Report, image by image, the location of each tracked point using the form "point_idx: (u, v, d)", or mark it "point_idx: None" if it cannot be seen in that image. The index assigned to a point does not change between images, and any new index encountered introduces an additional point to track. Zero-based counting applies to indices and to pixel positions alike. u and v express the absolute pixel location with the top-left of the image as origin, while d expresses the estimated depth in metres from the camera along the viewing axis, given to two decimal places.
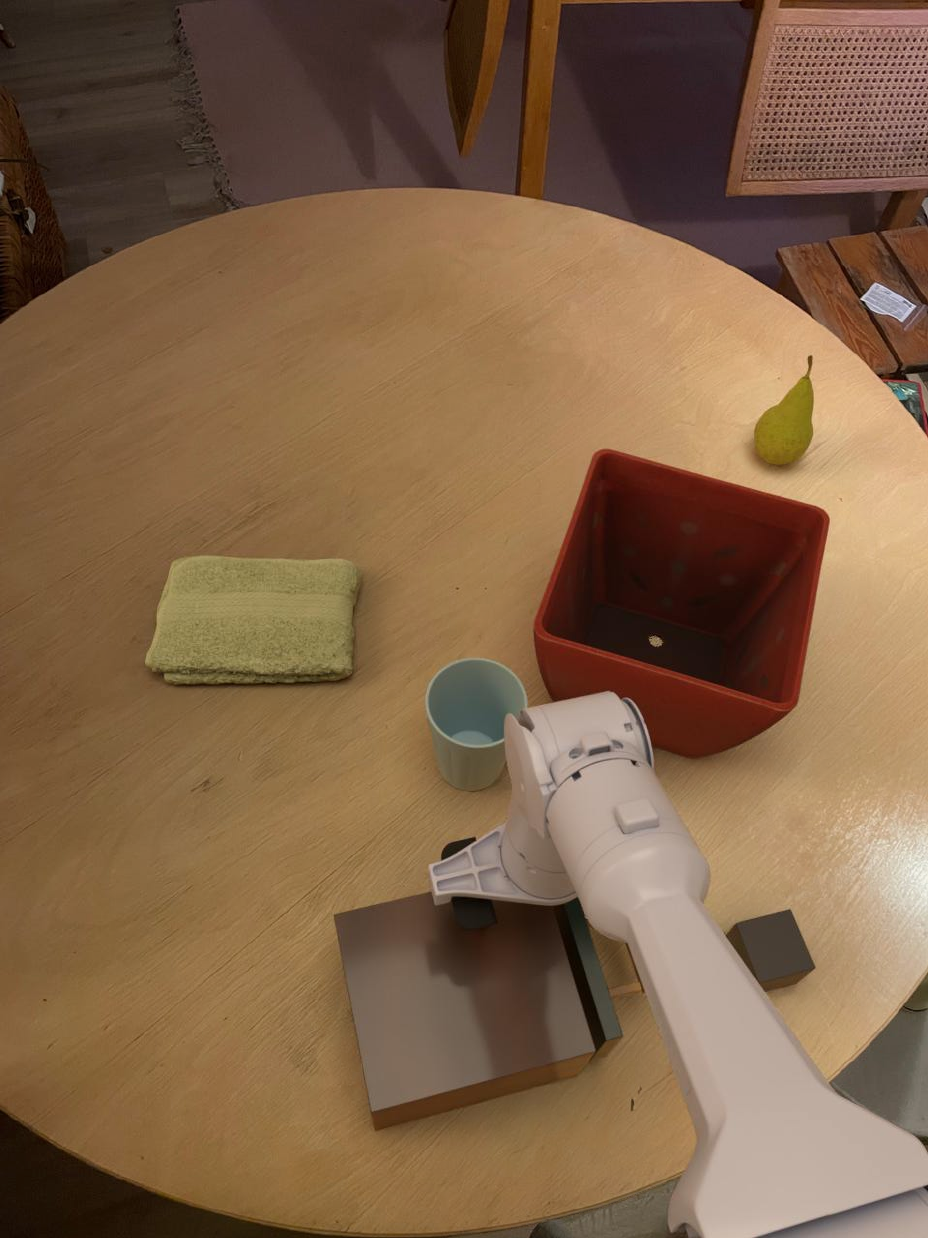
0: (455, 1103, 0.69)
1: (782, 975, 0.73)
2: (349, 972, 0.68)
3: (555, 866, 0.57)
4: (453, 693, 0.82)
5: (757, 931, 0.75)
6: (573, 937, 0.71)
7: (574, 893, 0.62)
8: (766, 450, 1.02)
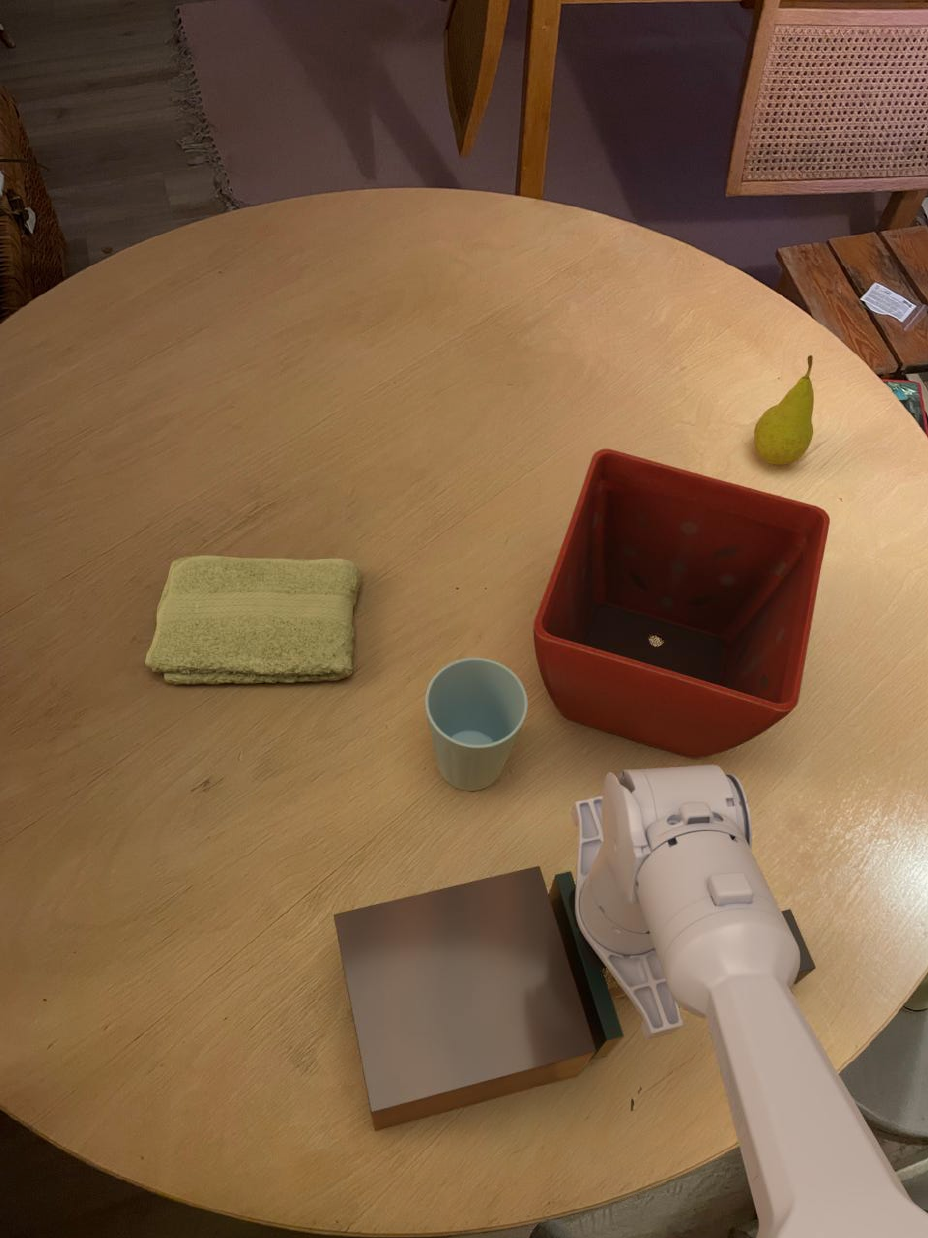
0: (455, 1103, 0.69)
1: None
2: (349, 972, 0.68)
3: (634, 926, 0.57)
4: (453, 693, 0.82)
5: None
6: (574, 937, 0.71)
7: (587, 931, 0.62)
8: (766, 450, 1.02)
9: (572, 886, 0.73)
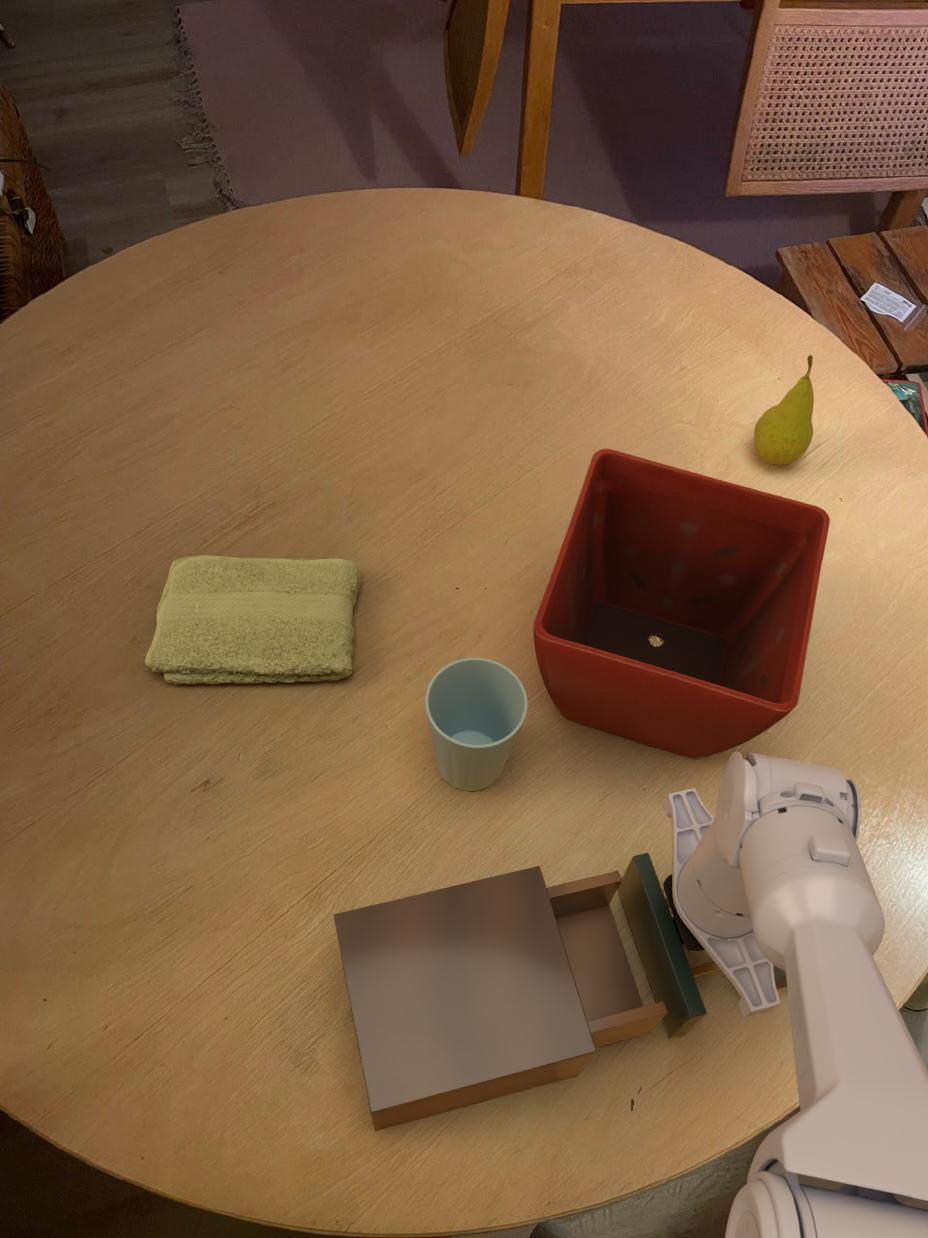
0: (455, 1103, 0.69)
1: (782, 975, 0.73)
2: (349, 972, 0.68)
3: (726, 905, 0.61)
4: (453, 693, 0.82)
5: None
6: (654, 917, 0.72)
7: (685, 916, 0.66)
8: (766, 450, 1.02)
9: (650, 867, 0.74)
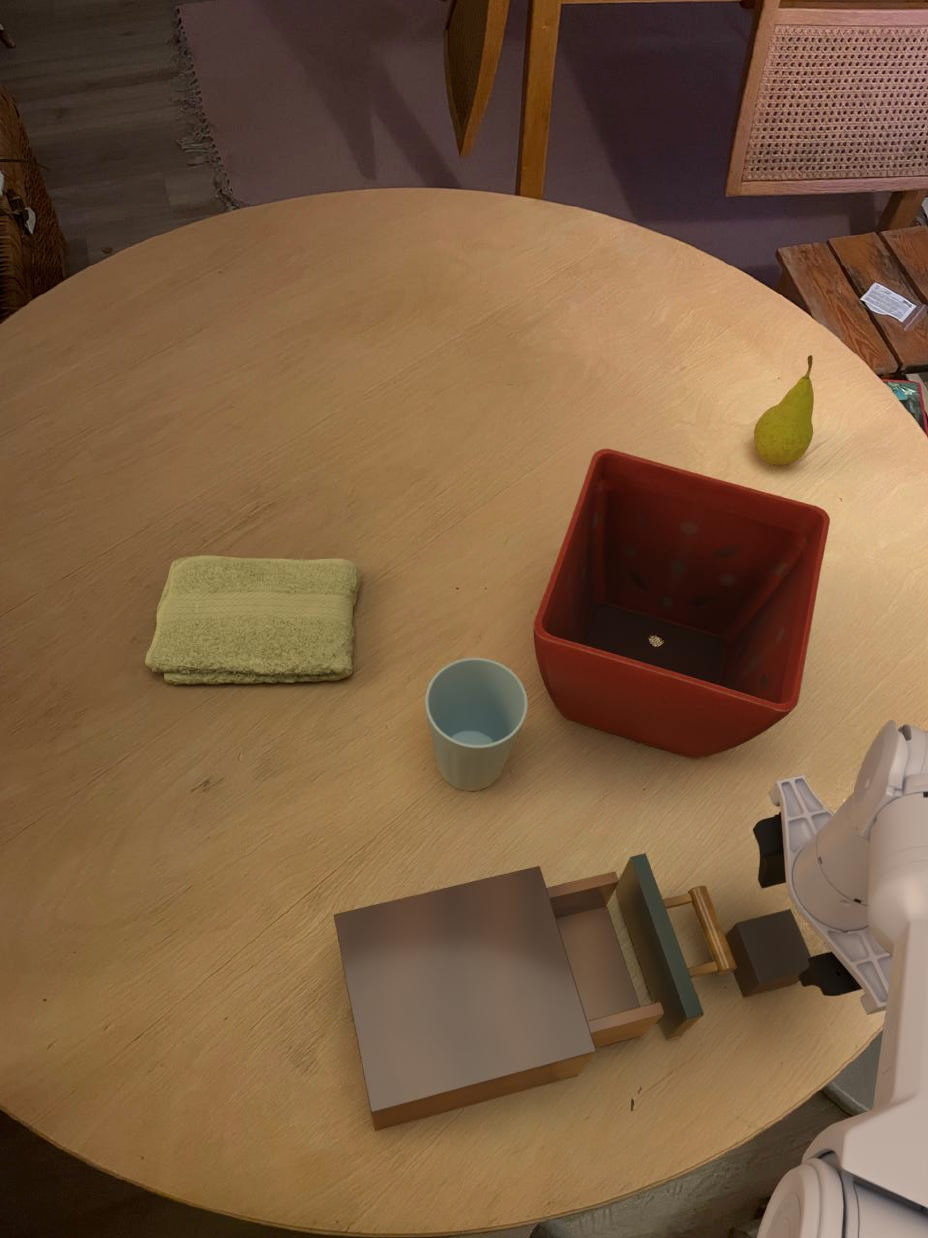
0: (455, 1103, 0.69)
1: (782, 975, 0.73)
2: (349, 972, 0.68)
3: (845, 886, 0.58)
4: (453, 693, 0.82)
5: (757, 931, 0.75)
6: (651, 918, 0.72)
7: (803, 907, 0.62)
8: (766, 450, 1.02)
9: (647, 868, 0.74)
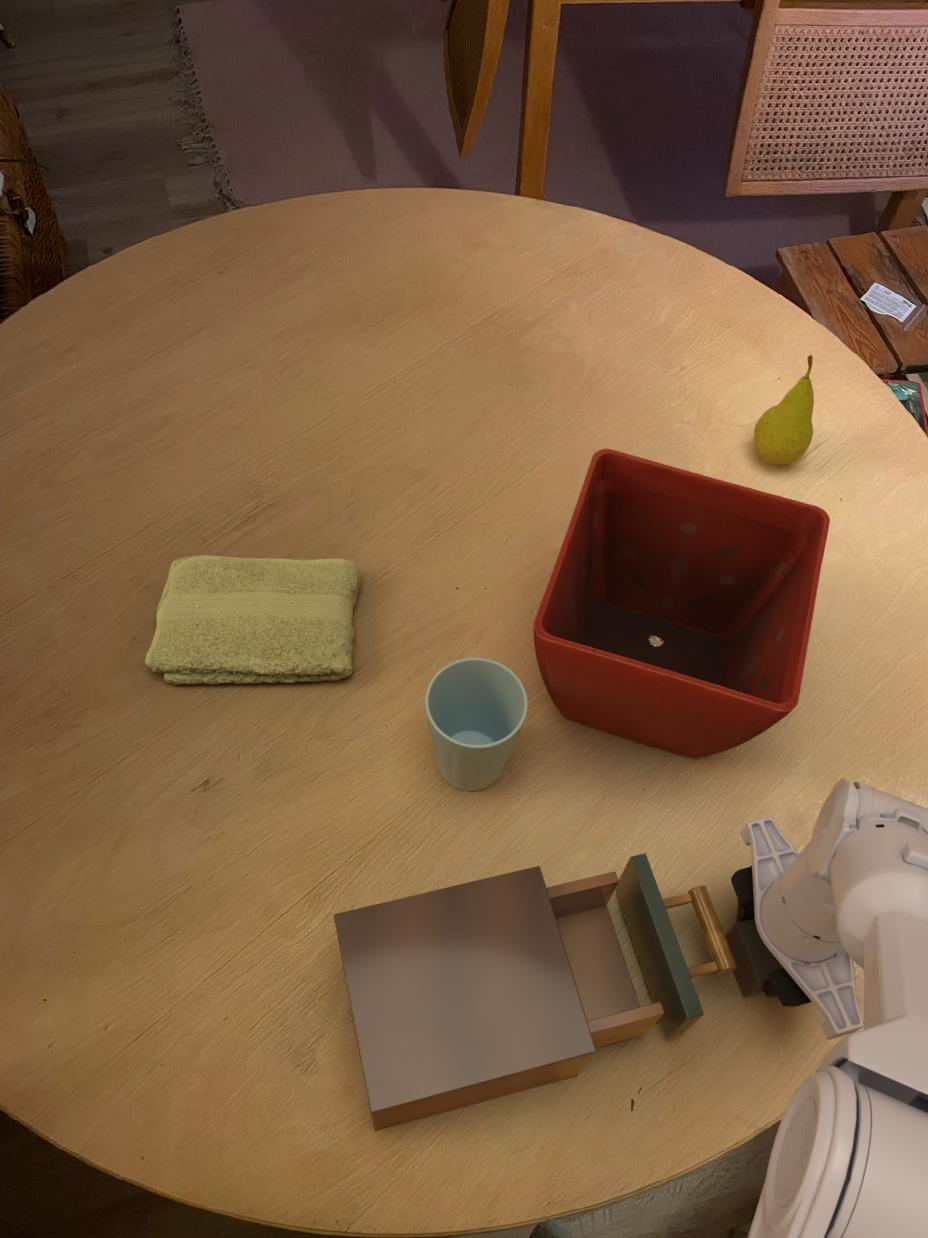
0: (455, 1103, 0.69)
1: None
2: (349, 972, 0.68)
3: (805, 925, 0.64)
4: (453, 693, 0.82)
5: (756, 931, 0.75)
6: (651, 918, 0.72)
7: (769, 941, 0.68)
8: (766, 450, 1.02)
9: (647, 868, 0.74)
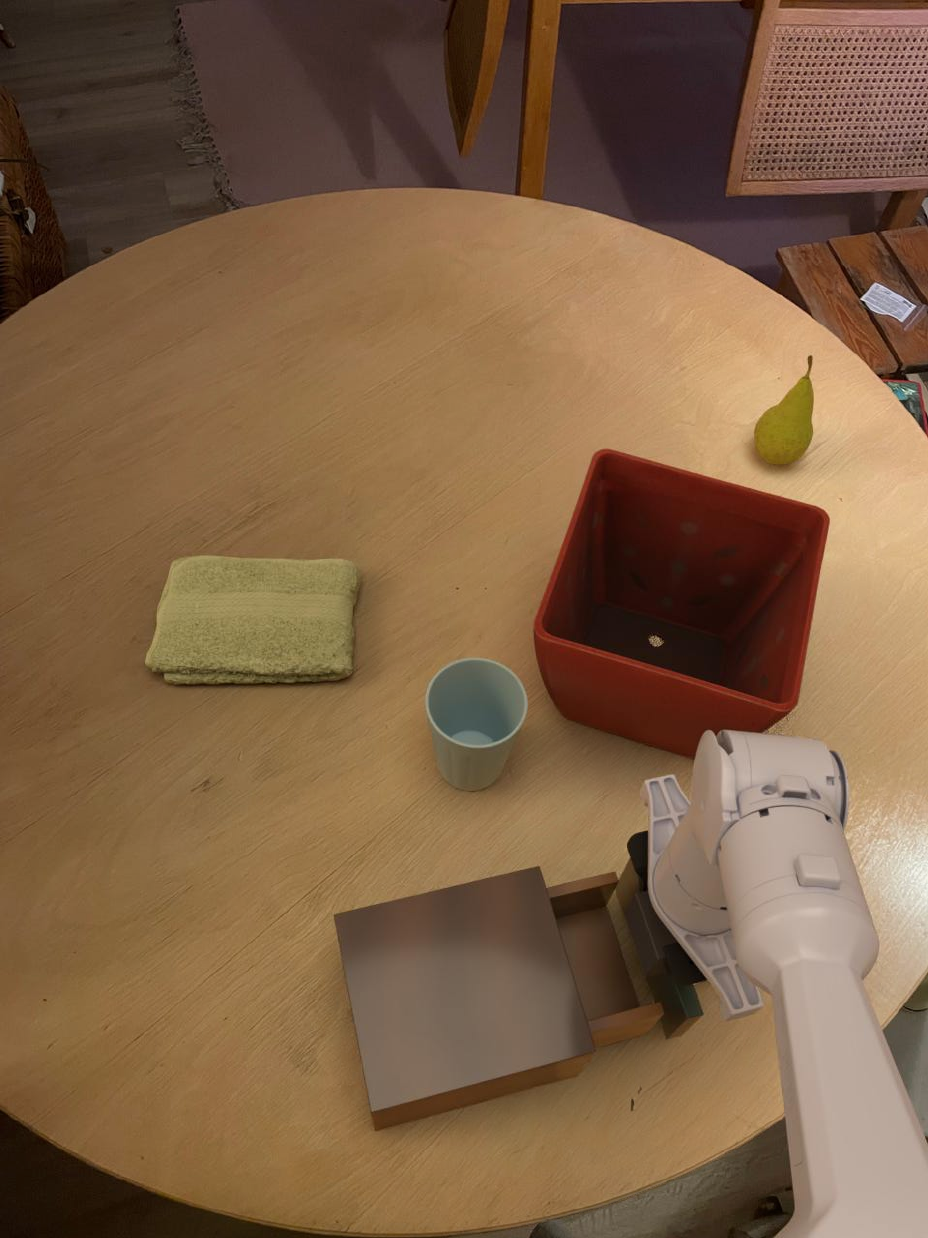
0: (455, 1103, 0.69)
1: None
2: (349, 972, 0.68)
3: (709, 899, 0.55)
4: (453, 693, 0.82)
5: None
6: None
7: (661, 910, 0.60)
8: (766, 450, 1.02)
9: None
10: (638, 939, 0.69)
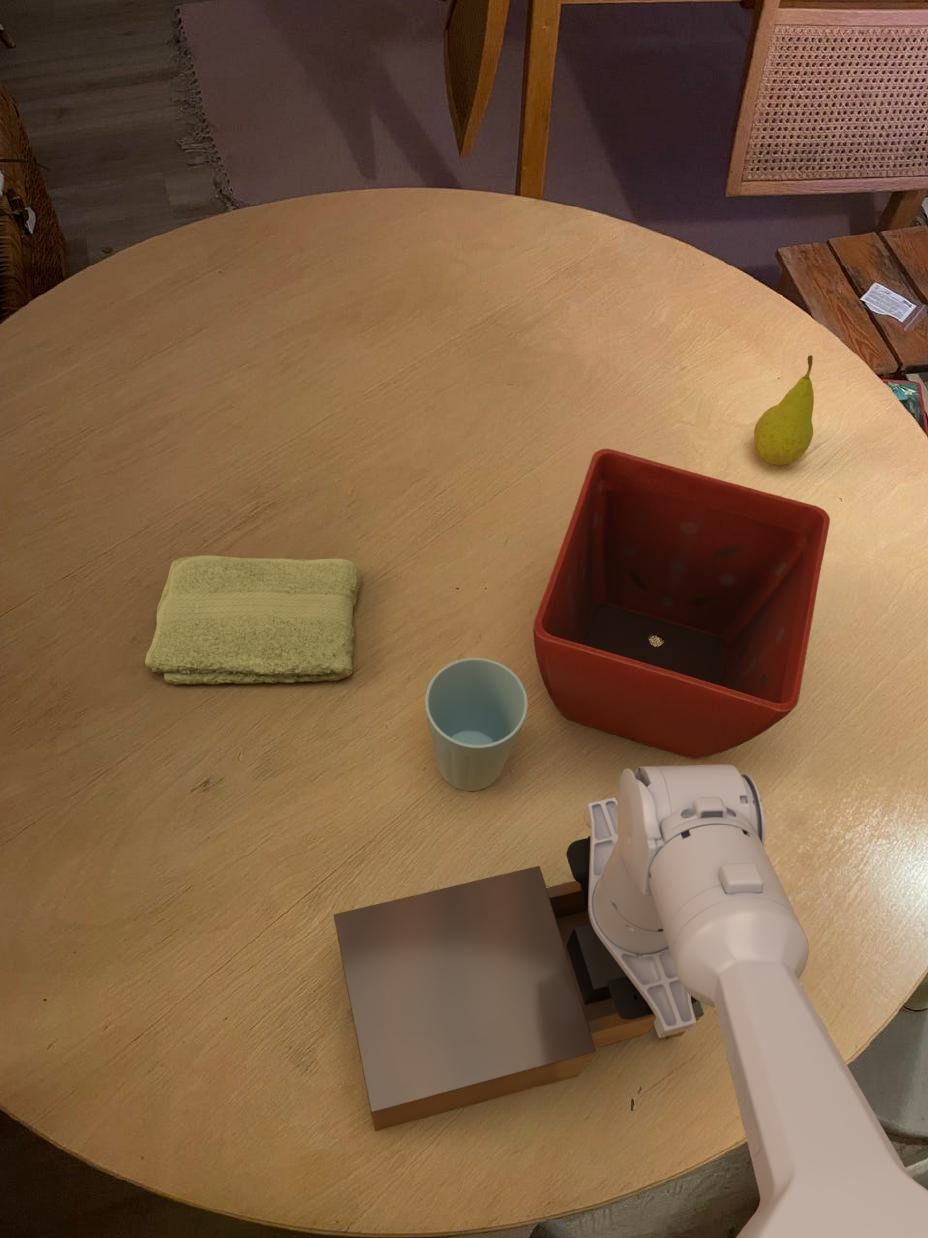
0: (455, 1103, 0.69)
1: None
2: (349, 972, 0.68)
3: (646, 923, 0.58)
4: (453, 693, 0.82)
5: (595, 936, 0.72)
6: None
7: (600, 930, 0.63)
8: (766, 450, 1.02)
9: None
10: (578, 969, 0.74)
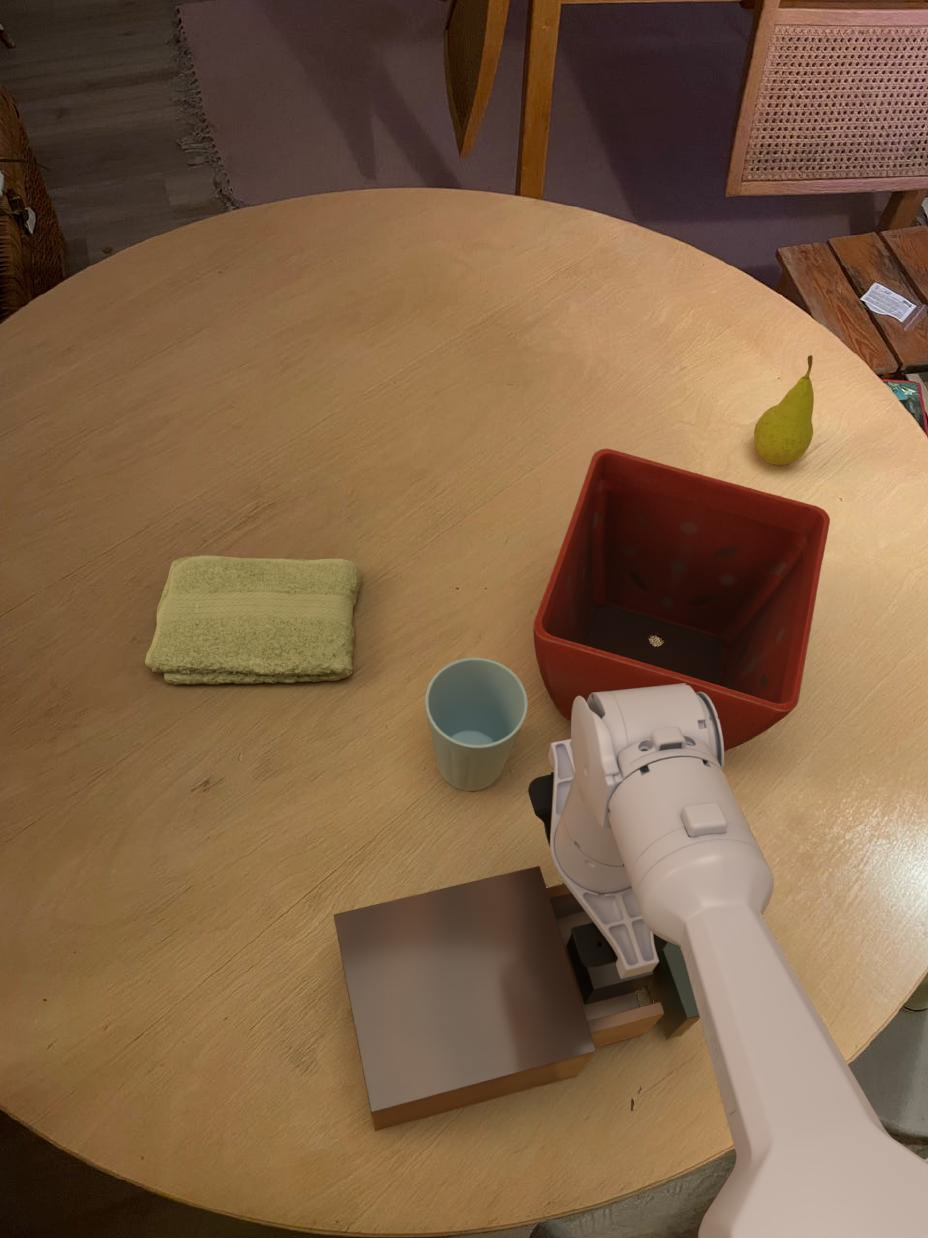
0: (455, 1103, 0.69)
1: (617, 981, 0.71)
2: (349, 972, 0.68)
3: (610, 858, 0.56)
4: (453, 693, 0.82)
5: None
6: None
7: (561, 870, 0.61)
8: (766, 450, 1.02)
9: None
10: (578, 969, 0.74)
